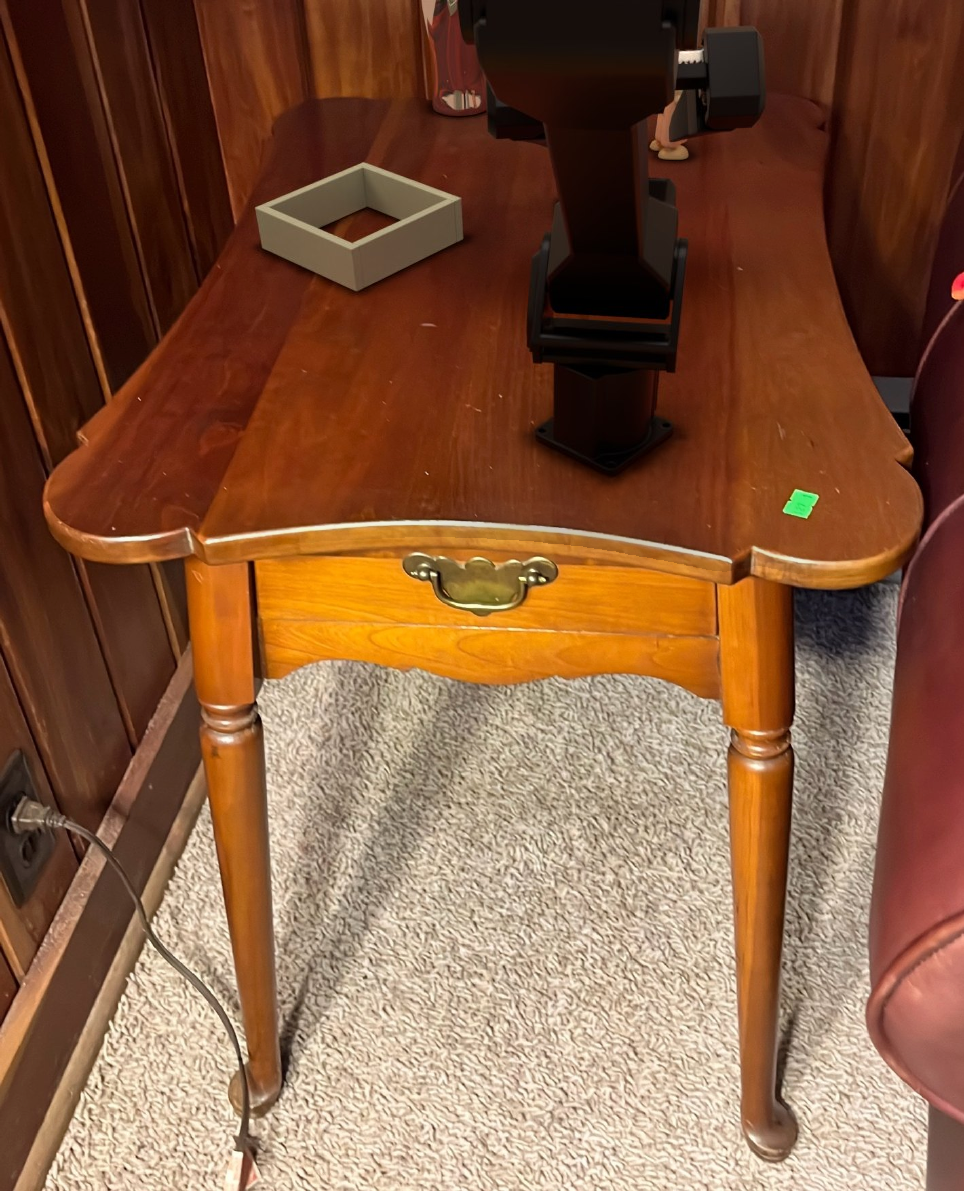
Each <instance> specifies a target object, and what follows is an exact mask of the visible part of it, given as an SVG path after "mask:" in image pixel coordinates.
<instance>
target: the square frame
mask: <svg viewBox="0 0 964 1191" xmlns="http://www.w3.org/2000/svg"><path fill="white" fill-rule="evenodd" d="M365 208H370V209H373V210H375V211H376V212H380V213H382V214H385V215H387V216H390V217H392V218H394V219H398V220H399V221H397V222H395V223H392V224H391V225H388V226H386V227H384V228H381V229H379V230H378V231H375V232H373V233H371V234H369V235H367V236H364V237H362V238H360V239H358V240H356V241H354V242H350V241H348V240H346V239H343V238H341V237H339V236H336V235H335V234H332V233H330V232H328V231H325V230H323V229H320V228H323V227H324V226H327V225H329V224H332V223H333V222H336V221H338V220H341V219H342V218H345V217H347V216H349V215H352V214H353V213H356V212H358V211H361V210H362V209H365ZM254 210H255V214H256V220H257V227H258V232H259V238H260V243H261V248H262V249H263V250H266V251H268V252H270V253H271V254H275V255H276V256H278V257H281V258H283V259H284V260H287V261H289V262H291V263H294V264H295V265H298V266H300V267H302V268H304V269H307V270H309V271H311V272H313V273H315V274H317V275H319V276H321V277H323V278H326V279H328V280H330V281H332V282H334V283H337V284H339V285H341V286H344V287H345V288H348V289H350V290H352V291H355V292H359V291H361V290H363V289H364V288H367V287H369V286H371V285H373V284H374V283H377V282H379V281H381V280H384V279H385V278H387V277H389V276H391V275H393V274H395V273H398V272H400V271H401V270H403V269H406V268H407V267H409V266H411V265H413V264H416V263H417V262H420V261H422V260H424V259H426V258H428V257H430V256H431V255H432V256H433V255H434V254H436V253H438V252H440V251H442V250H445V249H446V248H448V247H450V246H452V245H454V244H456V243H459V242H460V241H462V240H464V225H463V208H462V197H460V196H457V195H454V194H451V193H448V192H447V191H443V190H440V189H438V188H435V187H432V186H430V185H427V184H424V183H421V182H419V181H416V180H413V179H411V178H408V177H405V176H402V175H400V174H397V173H394V172H392V171H389V170H386V169H384V168H381V167H379V166H375V165H373V164H370V163H367V162H365V161H363V162H361V163H358V164H356V165H354V166H352V167H349V168H346V169H344V170H342V171H340V172H337V173H335V174H332V175H329V176H327V177H324V178H322V179H321V180H317V181H315V182H313V183H311V184H308V185H306V186H303V187H301V188H299V189H296V190H293V191H291V192H289V193H286V194H284V195H281V196H279V197H277V198H275V199H272V200H270V201H267V202H265V203H262V204H261V205H258V206H256V207H254Z"/></svg>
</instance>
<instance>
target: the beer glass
mask: <svg viewBox="0 0 964 1191" xmlns="http://www.w3.org/2000/svg"><path fill="white" fill-rule="evenodd" d="M420 3H421V11H422V18H423V22H424V26H425V31H426V35H427V39H428V40H427V41H428V44H429V50H430V53H431V59H432V63H433V64H432V65H433V72H434V73H433V76H434V78H433V79H434V80H433V83H434V84H433V92H432V93H433V94H432V102H431V104H432V105H431V106H432V109H433V110H434V111H435V112H436V113H438V114H441V115H445V116H449V117H468V116H474V115H479V114H482V113H484V112H487V101H486V78H485V76H484V74H483V72H482V70H481V67H480V65H479V62H478V57H477V52H476V47H475V45H466V43H465V42H464V40H463V38H462V34H461V29H460V23H459V13H458V0H420Z"/></svg>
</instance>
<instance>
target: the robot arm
mask: <svg viewBox="0 0 964 1191" xmlns="http://www.w3.org/2000/svg"><path fill="white" fill-rule="evenodd" d="M703 6H704V0H458V13H459V23H460V29H461V34H462V38H463V40H464V42H465V43H466V45H475V47H476V52H477V57H478V62H479V65H480V67H481V70H482V72H483V74H484V76H485V78H486V101H487V110H486V122H487V124H486V125H487V133H488V134H489V135H491V136H492V137H493V138H494V139H495V140H510V141H511V142H524V143H530V144H535V145H538V146H540V147H541V146H542V147H544V148H547V149H548V154H549V159H550V163H551V168H552V173H553V177H554V182H555V186H556V187H555V188H556V192H557V196H558V202H556V203H555V204H554V210H553V220H552V226H551V227H552V228H551V231H549V230H548V231H547V230H546V231H544V233H543V237H542V242H541V243H540V246H539V250H538V251H537V252H535V253H534V254H533V255H532V257H531V264H530V273H529V274H530V275H529V287H528V297H527V298H528V299H527V312H526V348H528V349H529V353H531V357H532V364H534V365H535V364H537V365H543V363H544V364H553V400H552V402H553V408H552V410H553V414H552V417H551V418H549V419H548V420H546V421H545V422H543V423H541V424H540V425H538V426H537V427H536V428H535V429H534V438H535V439H536V440H538V441H539V442H541V443H542V444H545V445H547V446H549V447H551V448H554V449H555V450H557V451H559V452H561V453H563V454H565V455H567V456H568V457H571V458H573V459H575V460H576V461H579V462H581V463H583V464H585V465H587V466H589V467H591V468H593V469H595V470H597V471H599V472H601V473H603V474H605V475H609V476H612V475H613V476H614V475H616V474H618V473H620V472H621V471H623V469H625V468H626V467H628V466H629V465H630V464H632V463H633V462H634V461H636V460H637V459H639V458H640V457H642V456H643V455H644V454H646V453H648V452H649V451H650V450H651V449H653V448H654V447H656V446H657V445H658V444H660V443H661V442H662V441H664V440H665V439H667V438H668V437H669V436H671V435H672V434H673V433H674V426H675V424H674V423H673V422H672V421H669V420H667V419H665V418H663V417H661V416H658V415H656V414H655V413H656V412H655V411H657V407H658V396H659V394H658V393H659V381H660V380H659V379H660V371H661V372H666V373H667V374H676V368H677V361H678V354H679V345H680V338H681V329H682V328H681V327H682V318H683V310H684V309H683V308H684V300H685V298H684V296H685V287H686V278H687V277H686V276H687V268H688V258H689V246H690V245H689V244H690V238H688V237H678V236H679V210H678V209H677V205H676V203H677V202H676V198H677V185H675V183H674V182H673V181H672V179H671V178H667V177H649V173H650V172H649V135H648V118H649V117H651V116H653V115H658V114H663V113H664V110H665V107H667V106H668V105H669V104H671V103H672V102H673V101H674V97H675V91H676V90H683V91H682V94H681V96H680V98H679V101H678V103H677V105H676V107H675V110H674V112H673V114H672V117H671V121H670V126H669V141H670V142H677V141H681V140H685V139H688V140H689V139H694V138H698V137H699V138H700V137H703V136H709V135H715V134H720V133H729V132H733V131H735V130H736V129H752V128H753V127H754V126H755V125H756V124H757V123H758V122H759V121H760V119H761V117H762V115H763V113H764V111H765V110H766V103H767V82H766V81H767V79H766V60H765V44H764V43H765V42H764V38H763V36H762V35H761V33H760V32H759V30H757V28H756V27H755V26H754V25H739V26H736V25H735V26H718V27H717V26H716V27H714V26H713V27H703V28H702V31H701V22H702V15H703ZM700 31H701V34H700ZM699 39H700V45H701V46H698V45H699ZM680 49H682V50H685V51H679V50H680ZM688 63H689V64H688ZM671 302H672V307H671ZM554 313H555V314H561V315H577V316H579V315H580V316H594V317H612V318H626V319H627V318H628V319H629V318H630V319H646V320H662V321H665V320H667V319H668V318H669V317H670V314H671V317H670V324H669V323H668V324H667V323H652V322H637V321H636V322H635V321H620V320H606V319H605V320H603V319H587V318H572V317H557V316H554Z"/></svg>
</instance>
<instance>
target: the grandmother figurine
mask: <svg viewBox="0 0 964 1191" xmlns="http://www.w3.org/2000/svg"><path fill="white" fill-rule="evenodd" d="M679 51H686V50H682V49H680V50H679ZM688 64H689V63H688ZM682 91H683V90H676V91H675V97H674V101H673V102H672V103H671V104H669V105H668V106H667V107H665V110H664V113H663V114H657V121H656V127H655V136H654V138H655V139H654V140H653V141H651V143H650V145H649V148H650V150H652V151H656V152H658V154H657V156H658V158H659V159H661V160H668V161H669V160H671V161H672V160H673V161H681V160H686V159H688V158H689V151H688V149H687V148H686V147H685V146H684V145H682V144H685V143H686V142H687V141H688V140H689V139H685V140H681V141H677V142H670V141H669V126H670V121H671V117H672V114H673V112H674V110H675V107H676V105H677V103H678V101H679V98H680V96H681V94H682Z"/></svg>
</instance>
